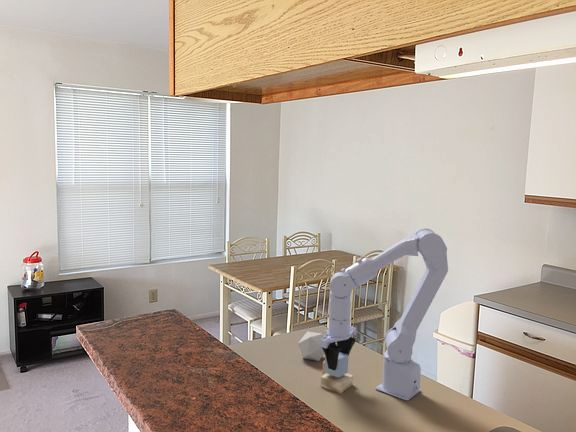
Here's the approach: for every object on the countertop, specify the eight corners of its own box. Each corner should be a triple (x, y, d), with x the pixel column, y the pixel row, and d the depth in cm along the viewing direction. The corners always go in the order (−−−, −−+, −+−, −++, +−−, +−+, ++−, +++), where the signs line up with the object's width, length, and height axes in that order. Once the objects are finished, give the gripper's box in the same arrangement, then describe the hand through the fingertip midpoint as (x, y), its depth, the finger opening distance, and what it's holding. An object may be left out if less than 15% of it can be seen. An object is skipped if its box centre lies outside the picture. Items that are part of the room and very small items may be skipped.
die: (330, 358, 151) (319, 329, 155) (331, 354, 143) (319, 324, 147) (306, 367, 151) (295, 338, 155) (305, 364, 143) (294, 333, 147)
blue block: (347, 372, 132) (348, 354, 131) (338, 377, 128) (339, 359, 128) (334, 367, 135) (334, 350, 134) (324, 372, 131) (325, 354, 131)
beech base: (352, 385, 132) (352, 375, 132) (341, 394, 127) (341, 383, 127) (332, 379, 136) (332, 369, 136) (320, 387, 131) (320, 376, 130)
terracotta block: (339, 372, 140) (340, 359, 139) (335, 378, 136) (336, 364, 136) (326, 370, 141) (327, 357, 141) (322, 375, 138) (322, 362, 137)
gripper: (342, 308, 138) (340, 354, 139) (311, 320, 127) (309, 369, 128) (363, 314, 133) (361, 361, 135) (333, 326, 122) (331, 378, 124)
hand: (337, 366), depth 131 cm, fingers closed on blue block, 4 cm apart
